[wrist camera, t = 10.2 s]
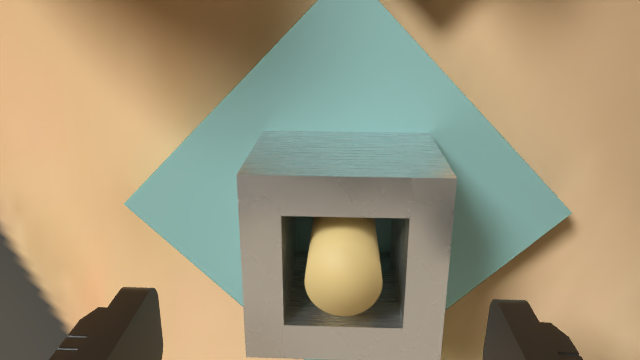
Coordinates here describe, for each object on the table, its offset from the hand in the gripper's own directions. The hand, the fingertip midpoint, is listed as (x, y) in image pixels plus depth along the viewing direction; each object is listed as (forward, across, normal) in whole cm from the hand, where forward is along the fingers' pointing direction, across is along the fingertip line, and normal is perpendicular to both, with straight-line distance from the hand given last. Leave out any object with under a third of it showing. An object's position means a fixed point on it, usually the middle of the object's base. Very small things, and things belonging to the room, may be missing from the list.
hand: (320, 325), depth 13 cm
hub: (+9, -1, 0) cm, 9 cm away
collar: (+8, -1, 0) cm, 8 cm away
